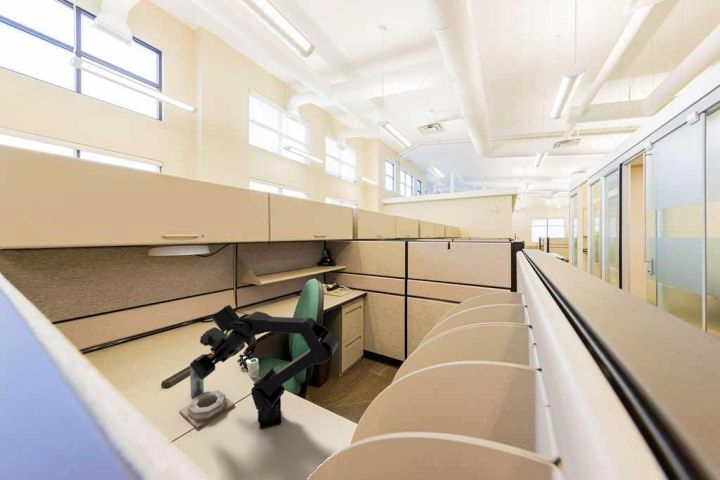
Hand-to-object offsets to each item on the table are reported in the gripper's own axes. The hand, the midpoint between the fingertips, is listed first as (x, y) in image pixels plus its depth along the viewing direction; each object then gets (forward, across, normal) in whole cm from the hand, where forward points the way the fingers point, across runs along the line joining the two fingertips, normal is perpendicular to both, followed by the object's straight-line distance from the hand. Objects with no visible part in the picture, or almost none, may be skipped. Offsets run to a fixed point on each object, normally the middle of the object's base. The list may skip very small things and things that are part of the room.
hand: (205, 368), depth 86 cm
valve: (+8, -21, +11) cm, 26 cm away
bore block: (+9, +1, +11) cm, 14 cm away
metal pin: (+15, -4, +4) cm, 16 cm away
